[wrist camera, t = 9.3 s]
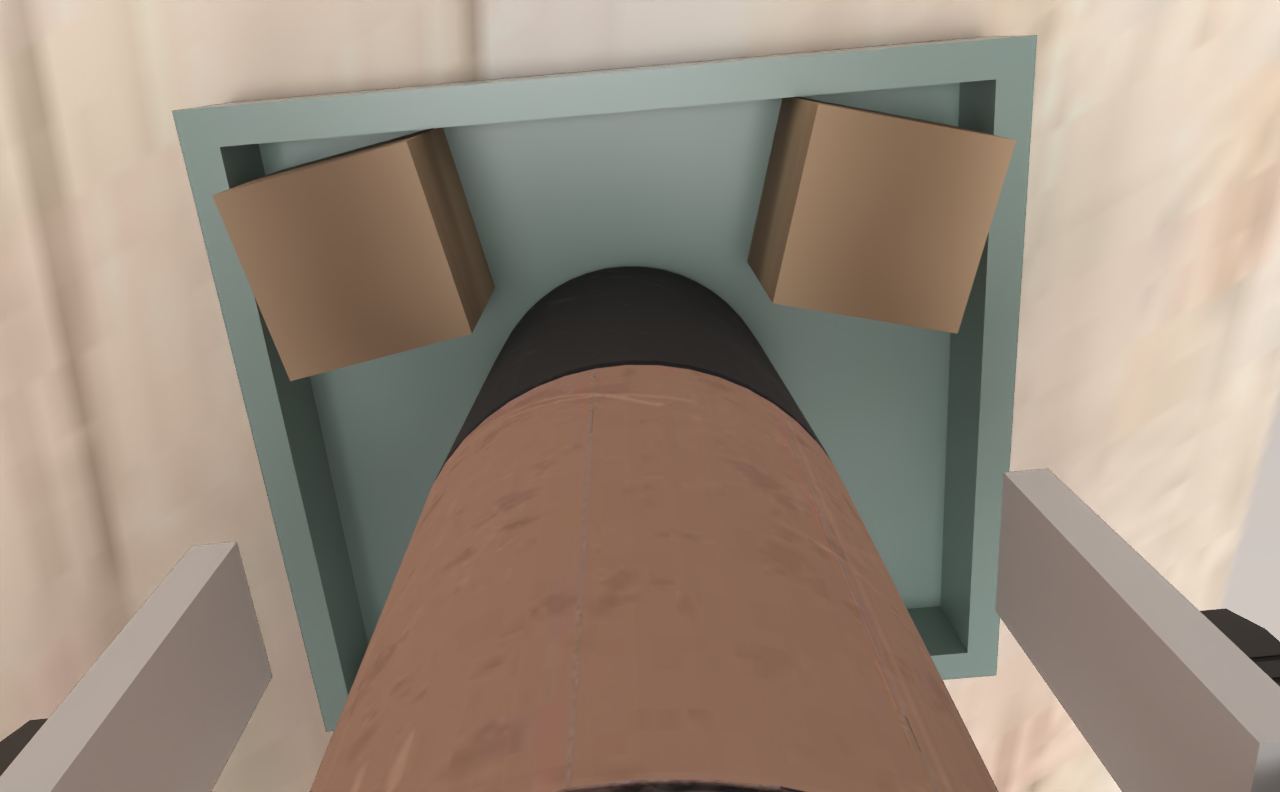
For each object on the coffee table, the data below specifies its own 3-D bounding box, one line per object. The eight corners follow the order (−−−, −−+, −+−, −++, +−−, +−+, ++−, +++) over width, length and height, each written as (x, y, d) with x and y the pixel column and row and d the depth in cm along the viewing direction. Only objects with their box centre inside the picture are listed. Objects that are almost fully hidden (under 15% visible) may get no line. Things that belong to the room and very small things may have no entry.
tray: (355, 662, 28) (326, 731, 25) (228, 103, 22) (172, 110, 19) (957, 611, 28) (996, 675, 25) (983, 36, 22) (1036, 35, 19)
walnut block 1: (342, 327, 23) (290, 381, 20) (280, 170, 22) (211, 195, 18) (495, 287, 23) (471, 333, 19) (442, 125, 22) (406, 141, 18)
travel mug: (813, 287, 23) (1627, 1264, 5) (737, 551, 26) (1055, 1876, 7) (509, 223, 23) (-15, 1070, 4) (462, 502, 25) (8, 1831, 6)
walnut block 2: (747, 261, 23) (772, 303, 19) (783, 93, 22) (818, 103, 18) (902, 287, 23) (957, 333, 20) (948, 124, 22) (1016, 140, 18)
